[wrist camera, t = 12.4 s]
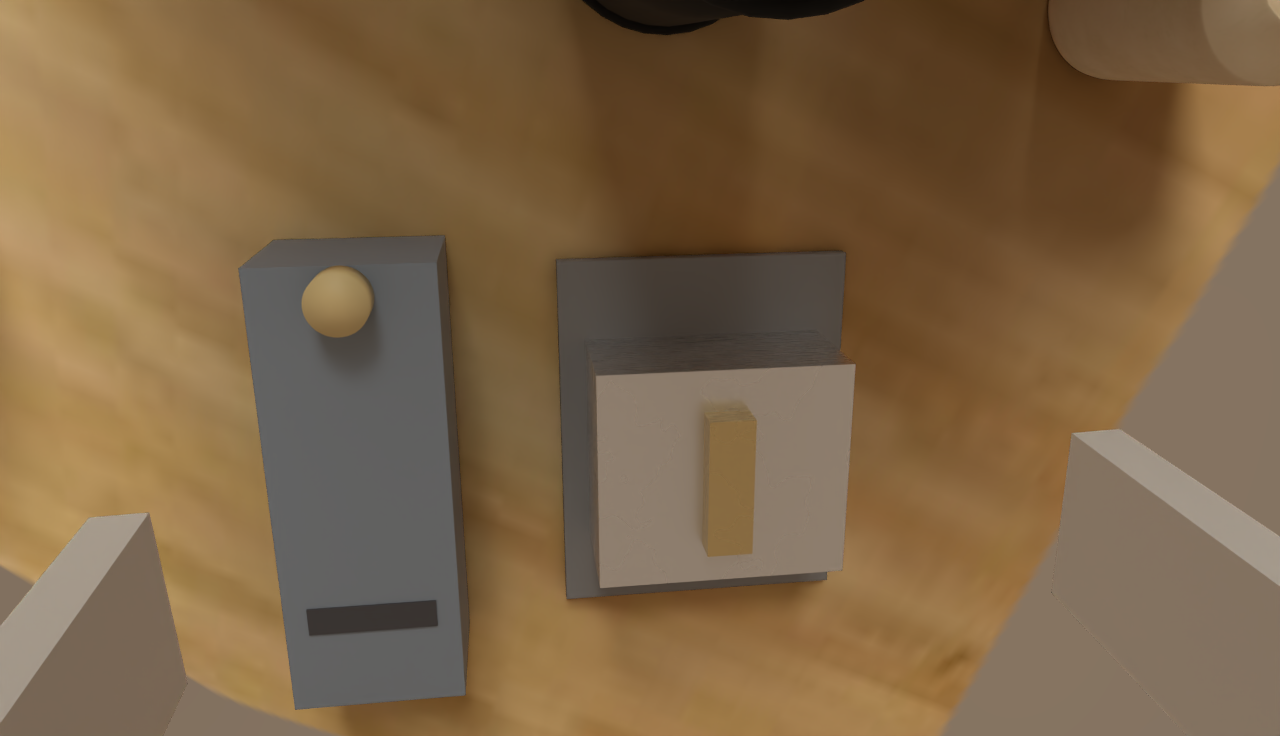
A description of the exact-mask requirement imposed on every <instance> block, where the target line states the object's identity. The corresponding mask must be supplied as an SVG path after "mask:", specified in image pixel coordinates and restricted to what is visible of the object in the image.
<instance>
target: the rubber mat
mask: <svg viewBox="0 0 1280 736" xmlns="http://www.w3.org/2000/svg"><path fill="white" fill-rule="evenodd" d="M845 263H846V253H845V252H843V251H811V252H778V253H745V254H712V255H678V256H645V257H612V258H579V259H556V275H557V308H558V341H559V374H560V407H561V441H562V474H563V507H564V540H565V573H566V596H567V599H573V598H587V597H600V596H614V595H628V594H641V593H655V592H668V591H682V590H696V589H709V588H723V587H737V586H750V585H764V584H777V583H791V582H805V581H818V580H827V572H816V573H802V574H788V575H774V576H760V577H747V578H733V579H719V580H705V581H691V582H678V583H664V584H650V585H636V586H622V587H608V588H600V585H599V580H598V574H597V569H596V564H595V558H594V553H593V548H592V542H591V537H590V531H589V488H588V442H587V396H586V350H585V339H609V338H633V337H658V336H682V335H707V334H732V333H756V332H781V331H806V330H817V331H818V332H819V333H820V334H822V335H823V336H824V337H825V338H826V339H827V340H828V341H830V342H831V343H832V344H833V345H834V346H835V347H836V348H838V349H839V350H840V348H841V331H842V314H843V297H844V280H845Z"/></svg>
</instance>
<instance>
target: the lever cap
mask: <svg viewBox="0 0 1280 736" xmlns="http://www.w3.org/2000/svg"><path fill="white" fill-rule="evenodd" d="M585 350H586V396H587V442H588V488H589V531H590V537H591V542H592V548H593V553H594V558H595V564H596V569H597V574H598V580H599V585H600V588H608V587H622V586H636V585H650V584H664V583H678V582H691V581H705V580H719V579H733V578H747V577H760V576H774V575H788V574H802V573H816V572H830V571H842V569H843V553H844V538H845V522H846V507H847V491H848V476H849V460H850V445H851V429H852V413H853V398H854V382H855V367H856V364H855V363H854V362H853V361H851V360H850V359H849V358H848V357H847V356H846V355H845V354H843V353H842V352H841V351H840V350H839V349H838V348H836V347H835V346H834V345H833V344H832V343H831V342H830V341H828V340H827V339H826V338H825V337H824V336H823V335H822V334H820V333H819V332H818V331H817V330H806V331H781V332H756V333H732V334H707V335H682V336H658V337H633V338H609V339H585Z"/></svg>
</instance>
